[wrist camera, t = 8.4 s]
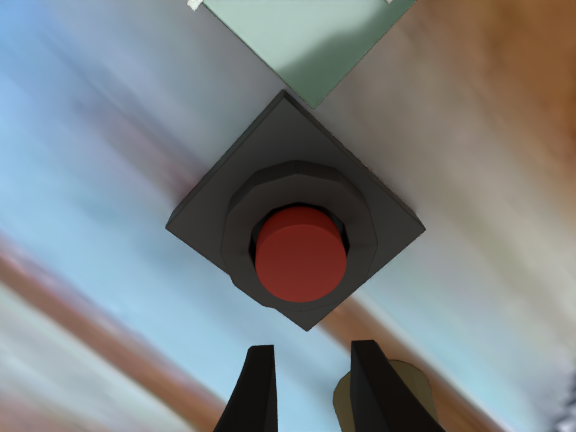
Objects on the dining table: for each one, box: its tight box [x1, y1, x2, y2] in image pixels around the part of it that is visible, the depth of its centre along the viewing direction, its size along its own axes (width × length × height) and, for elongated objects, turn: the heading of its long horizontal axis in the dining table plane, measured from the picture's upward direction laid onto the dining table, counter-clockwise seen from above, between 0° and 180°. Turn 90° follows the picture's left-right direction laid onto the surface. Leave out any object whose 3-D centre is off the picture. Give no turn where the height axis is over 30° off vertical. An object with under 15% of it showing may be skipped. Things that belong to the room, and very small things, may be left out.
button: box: [255, 206, 347, 302], centre depth 18 cm, size 4×4×2 cm
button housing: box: [165, 90, 426, 331], centre depth 20 cm, size 8×9×4 cm
